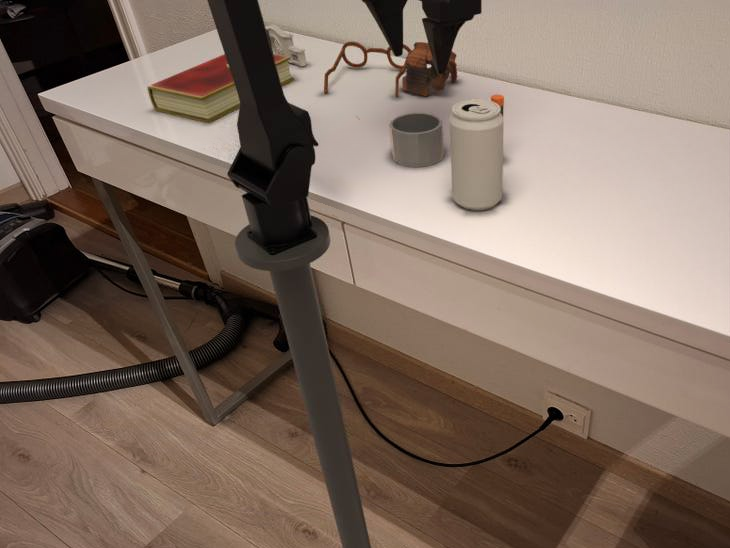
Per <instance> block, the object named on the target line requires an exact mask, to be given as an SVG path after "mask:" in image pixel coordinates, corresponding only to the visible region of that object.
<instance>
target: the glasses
mask: <svg viewBox="0 0 730 548" xmlns="http://www.w3.org/2000/svg"><path fill="white" fill-rule="evenodd" d="M351 46H354V47H357V48H358V49H359V50H361V51H362V53H363V61H362V62H360V63H354V62H351V60H349V59H348V58H347V55H346V49H347V48H348V47H351ZM403 50H406V52H407V55H406V57H407V56H408V54H409V53H410V52H411V51H412V49H411V48H410V47H409V46H408V45H406V44H405V43H403ZM391 52H392V50H391V48H390V46H389V45H388V47H387V49H385V48H382V47H369V48H366V47H365V46H364V45H363V44H361V43H360V42H357V41H346V42H344V44H343V45H342V46H341V49H340V51H339V54H338V55H337V56H336V57H337V58H336V59H335V61H334V63H333V65H332V67H331V68H328V70H327V71H326V72H325V73H324V81H323V82H324V83H323V93H324V94H328V89H329V76H330V75H331V74H332V73H333V72H335V71H336V70H337V69H338V66H339V64H340V62H341V60H342V59H343V61H344V63H345V64H346V65H348V66H349V67H352V68H356V69H360V68H363V67H365V66H366V65H367V62H368V54H369V53H381V54H385V55H386V57H387V60H388V63H389V64H390V65H391V66H392V67H393V68H395V69H397V70H400V71H399V72H398V73H397V74H396V76H395V84H394V85H395V89H394V92H395V93H394V95H395V97H396V98H398V97H399V91H400V90H399V88H400V87H399V86H400V78H401V77H402V76H403V75H405V74H406V70H407V69H406V67H407V64H408V63H407V61H406V60H407V59H406V58H405V61H404V64H403V65H400V64H397V63H395V62H394V60H393V59H392V55H391Z"/></svg>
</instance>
